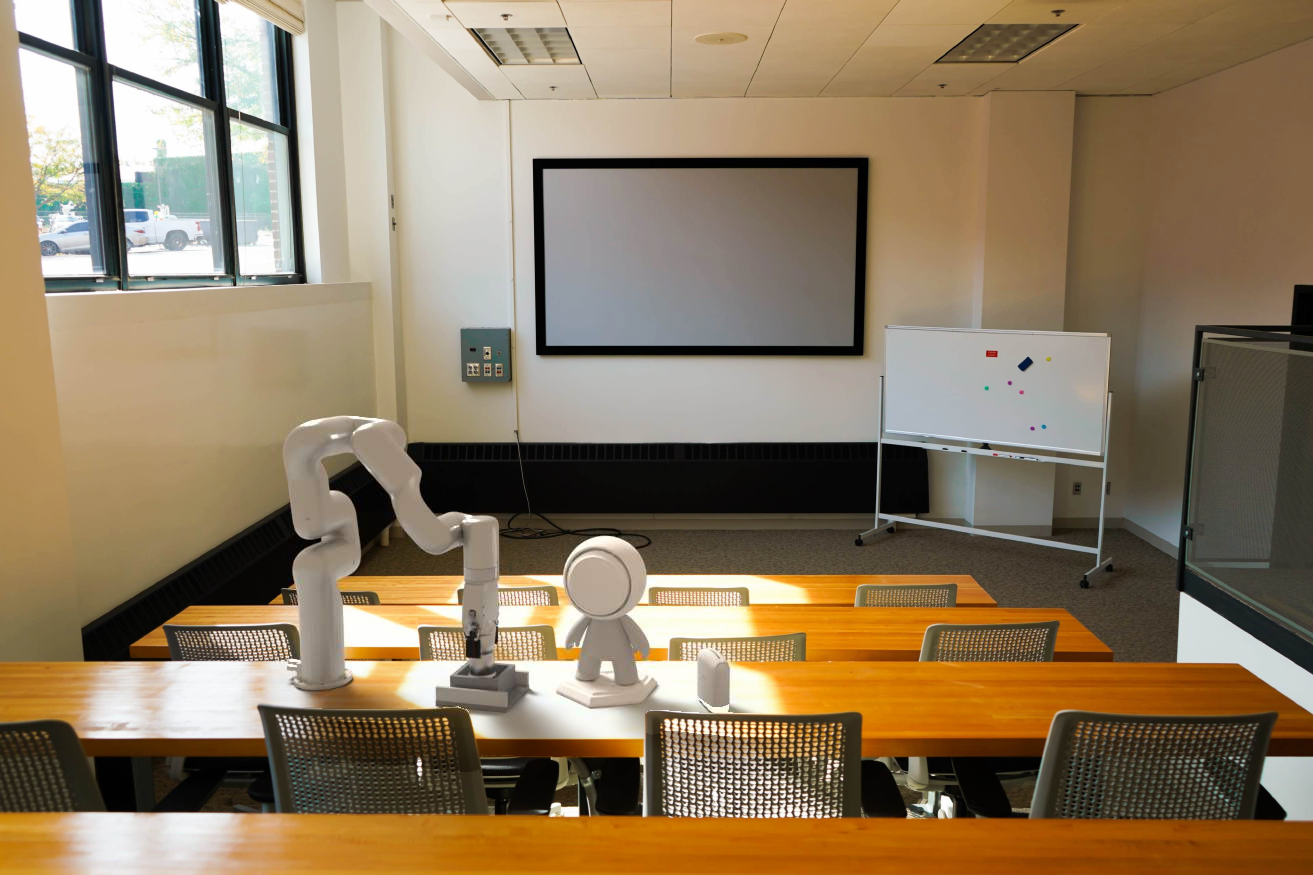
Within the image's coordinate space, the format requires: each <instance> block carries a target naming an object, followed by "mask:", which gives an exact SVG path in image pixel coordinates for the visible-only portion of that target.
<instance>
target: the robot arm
mask: <svg viewBox="0 0 1313 875" xmlns="http://www.w3.org/2000/svg"><path fill="white" fill-rule="evenodd" d="M406 444H407V435H406V433H405V430H404V429H403V428H402V427H401V425H399V424H398V423H396V422H395V421H392V420H388V419H383V418H382V419H379V418H372V417H370V418H369V417H360V416H354V415H353V416H352V415H337V416H331V417H325V418H319V419H312V420H309V421H306V422H304V423H301V424H300V425H298V426H295V427H294V429H292V430H291V431H290V433H289V434H288V435H287V436H286V438H285V440H284V443H283V447H282V460H283V466H284V469H285V473H286V478H287V486H288V494H289V501H290V502H289V504H290V509H291V510H290V511H291V515H292V516H291V517H292V523H293V526H294V531H295V532H296V533H297V535H298V536H299V537H300V538H302V539H305V540H315V539H320V538H321V541H320V542H318V543H317V542H316V543H314V544H312V545H310V546H307V547H305V548H304V549H303V550H301V551H300V552H299V553H298V554H297V556H295V559H294V560H293V564H292V576H293V581H294V585H295V588H296V595H297V604H298V605H297V606H298V607H297V609H298V610H297V611H298V625H299V653H300V656H299V658H300V659H296V658H295V659H294V658H291V659H290V658H289V660H288V662H287V665H286V671H290V672H295V673H296V675H295V676H294V678H293V684H294V686H295V687H296V688H299V689H301V690H304V691H305V690H306V691H324V690H330V689H335V688H338V687H339V688H340V687H342V686H344V685H346V684H348V683H349V682H350V681H351V680H352V679H353V671H352V670H351V669H350V668H347V667H346V659H345V657H346V656H345V654H346V653H345V652H346V651H345V628H344V626H345V624H344V604H343V602H344V601H343V598H342V595H341V594H342V593H341V592H340V588H339V587H338V581H339V580H341V579H343V578H345V577H348V576H349V575H351V574H353V573H354V572H355V571H356V570H357V569H358V567H359V566H360V563H361V558H362V557H361V556H362V551H361V540H360V535H359V533H360V532H359V527H358V526H359V525H358V518H357V512H356V508H355V506H354V504H353V502H352V500H351V498H350V497H349V496H348V495H346V494H345V493H343V491H340V490H330V484H329V477H328V473H327V470H326V469H325V466H324V465H323V463H322V459H324V458H327V457H332V456H337V455H341V454H344V453H345V454H346V453H349V454H353V455H354V456H356V458H357V459H358V460H359V461H360V462H361V464H362V465H363V466H364V467H365V469H366V470H367V471H368V472H369V473H370V474H371V475H372V476H373V477H374V478H375V480H376V481H377V482H378V483H379V484H380V485H381V487H382V488H383V489H384V490H385V492H387V493H388V494H389V497H390V499H391V504H392V508H393V510H394V513H395V516H396V518H397V521H398V522H399V524H400V526H401V528H402V529H403V530H404V532H406V534H407V535H408V536H409V537H410V538H411V539H412V541H413V542H414V543H415V544H416V545H417V546H418V547H419V548H420V549H422V550H423V551H424V552H426V553H428V554H431V555H437V556H438V555H442V554H444V553H447V552H448V551H451V550H452V549H453V550H454V549H455V548H457V547H461V546H463V582H464V586H463V591H462V605H461V607H462V608H461V627H462V629H463V635H464V640H465V641H464V642H465V657H466V658H467V659H470V658H476V659H479V658H480V657H481V643H480V640H478V639H479V636H480V632H481V629H483V628H485V627H486V625H487V623H488V621H489V620H490V619H491V618H492V619H493V620H494V622H495V625H496V635H495V643H494V645H497V644H499V623H500V622H499V616H500V611H499V610H500V604H501V603H500V601H499V600H500V599H499V598H500V597H499V585H498V582H499V581H500V529H499V528H500V526H499V520H498V519H497V518H496V517H494V516H491V515H471V514H467V513H463V512H458V511H450V512H446V513H445V514H444V513H443V514H442V515H439V516H437V515H435V514H434V513H433V511H431V509H430V508H429V506H427V504H426V503H425V501H424V499H423V497H422V495H421V491H420V483H421V480H422V479H421V478H422V474H423V473H422V469H421V468H420V467H419V466H418V465H417V464H416V463H415V461H414V460H413V459H412V458H411V456H409V455H408V453H407V452H406V451H405V448H406V447H407V446H406ZM472 624H479V625H478V626H476V625H472ZM472 630H476V633H474V632H473V631H472Z"/></svg>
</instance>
